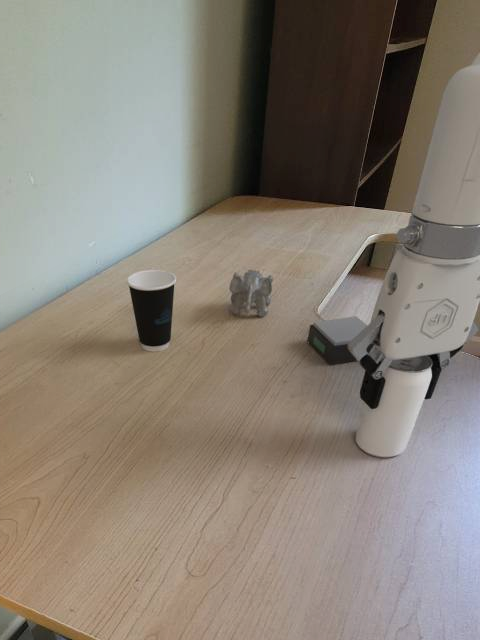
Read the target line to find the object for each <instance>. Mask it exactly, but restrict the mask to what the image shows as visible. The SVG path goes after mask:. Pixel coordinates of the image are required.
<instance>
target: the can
mask: <svg viewBox="0 0 480 640" xmlns="http://www.w3.org/2000/svg"><path fill="white" fill-rule="evenodd" d="M382 356H383V354H381V357H382ZM432 365H433V362H432V359H431V358H430V357H429V356H428V355H426V356H420V357H414V358H408V359H401V360H393V361H392V363H391V364H390V365H389V367H388V368H387V370H386V371H385V373H384V374H383V377H384V378H385V380H386V381H385V385H384V388H383V392H382V395H381V398H380V402H379V405H378V407H377V408H376V409H371V408H370V407H369V406H368V405H367V404H366V403H365V402H364V406H363V409H362V412H361V417H360V420H359V424H358V427H357V432H356V436H355V442H356V444H357V446H358V447H359V449H360V450H361V451H362V452H364V453H366V454H368V455H370V456H372V457H375V458H384V459H389V458H394V457H398V456H399V455H401V454H403V453H404V452H405V451H406V449H407V447H408V445H409V441H410V439H411V436H412V434H413V431H414V429H415V425H416V423H417V420H418V417H419V415H420V412H421V409H422V406H423V404H424V400H425V399H424V398H425V395H426V393H427V390H428V387H429V384H430V381H431V378H432V371H431V367H432Z"/></svg>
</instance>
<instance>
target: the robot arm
mask: <svg viewBox="0 0 480 640" xmlns="http://www.w3.org/2000/svg"><path fill="white" fill-rule="evenodd" d="M413 202H414V203H413V207H412V211H411V213H410V216H409V220H408V224H407V226H406V227H403V228H402V227H401V228H399V229H398V231H397V232H396V242H397V244H398V245H402V247H401V248H399V249H397V250H396V252H395V254H394V256H393V258H392V260H391V262H390V264H389V267H388V270H387V271H386V274H385V277H384V279H383V282H382V285H381V287H380V290H379V292H378V295H377V299H376V302H375V304H374V308H373V312H372V315H371V318H370V322H369V324H367V327H366V328H364V329H363V330H362V331H361V332H360V333H359V334H358V335H357V336H356V337H355V338H354V339H353V340H352V341H350V342H349V344H348V349H349V350H350V352H351V353H352V354H353V356H354V357H355V358H356V360H357V361H356V362H357V363H358V364H359V365H360V366H361V367H362V369H364V375H363V378H362V382H361V386H360V390H359V398H360V399H361V401H363V402H364V404H365V403H366V404H367V405H368V406H369V407H370V408H371V409H376V408H377V407H378V405H379V402H380V398H381V395H382V392H383V388H384V385H385V381H386V380H385V378H384V377H383V374H384V373H385V371H386V370H387V368H388V367H389V365H390V364H391V363H392V361H393V360H401V359H408V358H414V357H420V356H426V355H428V356H429V357H430V358H431V359H432V362H433V365H432V367H431V371H432V378H431V381H430V384H429V387H428V390H427V393H426V395H425V398H424V400H430V399H432V397H433V394H434V392H435V389H436V386H437V384H438V381H439V378H440V376H441V373H442V370H443V369H445V368H447V367H448V366H449V365H450V364H451V359H452V358H454V356H456V355H457V354H458V353H459V352H460V351H461V350H462V349H463V347H464V345H465V344H467V343H468V342H469V341H470V340H472V338H473V337H474V336H475V335H476V334H477V333H479V325H477V323H476V321H475V318H476V314H477V311H478V308H479V305H480V51H479V52H478V54H477V55H476V56H475V58H474V59H473V61H472V62H471V64H469V65H468V66H465V67H463V68H461V69H459V70H458V71H456V72H455V73H454V74H453V75H452V76H451V78H449V80H448V81H447V84H446V86H445V88H444V91H443V95H442V98H441V101H440V104H439V108H438V112H437V116H436V120H435V123H434V128H433V131H432V134H431V138H430V142H429V146H428V150H427V153H426V158H425V161H424V165H423V168H422V172H421V176H420V180H419V184H418V188H417V192H416V195H415V199H414V201H413ZM370 344H374V346H373V347H372V349H371V351H370V352H369V354H368V352H367V347H368V346H369V345H370ZM382 355H383V356H382ZM380 356H381V358H380ZM379 358H380V359H379ZM378 360H379V361H378ZM377 361H378V363H377Z"/></svg>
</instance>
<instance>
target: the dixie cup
mask: <svg viewBox="0 0 480 640" xmlns="http://www.w3.org/2000/svg"><path fill="white" fill-rule="evenodd" d="M176 282H177V276H176V275H175V274H174V273H172V272H170V271H167V270H163V269H162V270H161V269H146V270H140V271H137V272H134V273H132V274H130V275H129V276H128V277H127V278H126V284H127V286H128V288H129V293H130V298H131V303H132V304H131V305H132V309H133V315H134V320H135V325H136V330H137V335H138V340H139V341H138V342H140V344H141V349H142V350H144V351H147V352H154V353H156V352H157V353H158V352H162V351H165V350H167V349H168V348H169V346H170V341H171V338H172V326H173V325H172V323H173V309H174V297H175V284H176Z"/></svg>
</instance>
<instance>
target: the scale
mask: <svg viewBox="0 0 480 640" xmlns="http://www.w3.org/2000/svg"><path fill="white" fill-rule="evenodd" d="M367 326H368V324H367V323H365V321H363V320H361V319H360V318H359V317H358V316H356V315H354V316H348V317H340V318H333V319H327V320H319V321H314V322H313V324H310V325H309V329H308V336H307V341H308V342H309V343H308V342H307V343H308V345H309V346H310V347H311V346H312V347H313V348H314V349H315V350H314V349H313V348H312V347H311V348H312V349H313V350H314V351H315V352H316V353H317V354H318V355H319V356H320V357H321V358H322V359H323V361H325V362H326V363H327V364H328V365H329V366H333V365H340V364H347V363H353V362H358V361H357V360H356V358H355V357H354V356H353V354H352V353H351V352H350V350H349V349H348V344H349V342H350V341H352V340H353V339H354V338H355V337H356V336H357V335H358V334H359V333H360V332H361V331H362V330H363V329H364V328H366V327H367ZM373 346H374V344H370V345H369V346H368V347H367V352H368V354H369V352H370V351H371V349H372V347H373Z"/></svg>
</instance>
